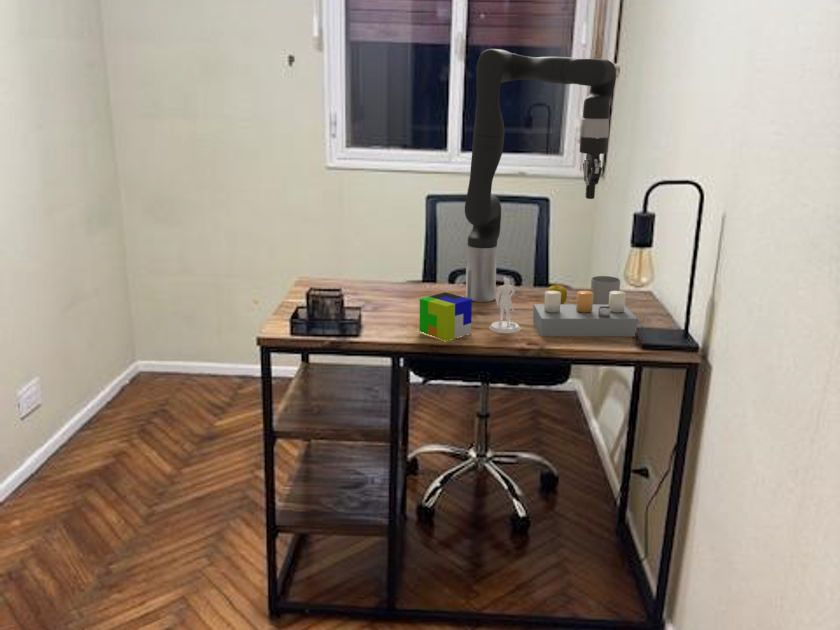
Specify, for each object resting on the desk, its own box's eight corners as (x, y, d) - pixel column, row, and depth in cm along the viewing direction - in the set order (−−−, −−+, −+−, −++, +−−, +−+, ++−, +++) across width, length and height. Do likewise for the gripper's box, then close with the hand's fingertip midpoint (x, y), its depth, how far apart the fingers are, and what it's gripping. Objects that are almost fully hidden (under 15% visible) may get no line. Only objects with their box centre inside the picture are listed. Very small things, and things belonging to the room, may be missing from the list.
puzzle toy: (471, 334, 207) (472, 299, 204) (445, 342, 200) (446, 306, 198) (444, 326, 214) (445, 292, 211) (419, 333, 207) (419, 298, 204)
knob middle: (577, 326, 210) (579, 294, 207) (573, 321, 214) (575, 290, 212) (592, 326, 210) (595, 294, 207) (589, 321, 214) (591, 290, 212)
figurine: (488, 332, 209) (490, 279, 204) (489, 322, 217) (491, 272, 213) (520, 333, 207) (523, 281, 203) (520, 324, 216) (523, 273, 211)
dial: (599, 317, 205) (600, 308, 204) (596, 314, 208) (597, 304, 208) (611, 317, 205) (612, 308, 205) (608, 314, 208) (609, 305, 208)
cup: (620, 315, 225) (623, 282, 222) (592, 315, 225) (595, 282, 222) (613, 307, 233) (616, 275, 230) (586, 307, 233) (589, 275, 230)
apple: (546, 311, 229) (548, 285, 226) (543, 305, 235) (544, 280, 232) (568, 311, 229) (569, 285, 226) (563, 305, 235) (565, 280, 232)
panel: (540, 336, 206) (541, 318, 204) (532, 320, 219) (533, 304, 218) (635, 336, 206) (637, 318, 205) (622, 321, 219) (623, 304, 218)
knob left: (544, 326, 210) (546, 294, 207) (542, 321, 214) (543, 290, 211) (560, 326, 210) (562, 294, 207) (557, 321, 214) (559, 290, 212)
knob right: (609, 326, 210) (611, 294, 208) (605, 321, 214) (607, 290, 212) (625, 326, 210) (627, 295, 208) (620, 321, 214) (623, 290, 212)
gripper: (575, 133, 214) (571, 195, 219) (586, 137, 201) (581, 202, 207) (602, 134, 214) (597, 195, 219) (614, 137, 202) (608, 202, 207)
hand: (589, 198), depth 213 cm, fingers closed
